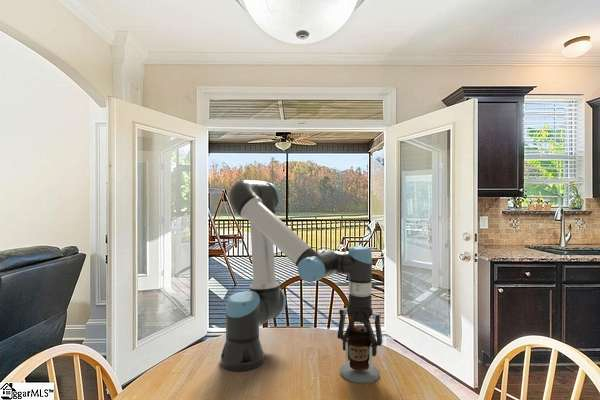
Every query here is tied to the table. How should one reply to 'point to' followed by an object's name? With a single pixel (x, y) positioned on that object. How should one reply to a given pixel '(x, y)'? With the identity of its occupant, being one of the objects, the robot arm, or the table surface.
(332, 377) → the table surface
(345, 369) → the grey domed puck
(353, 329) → the coffee cup
